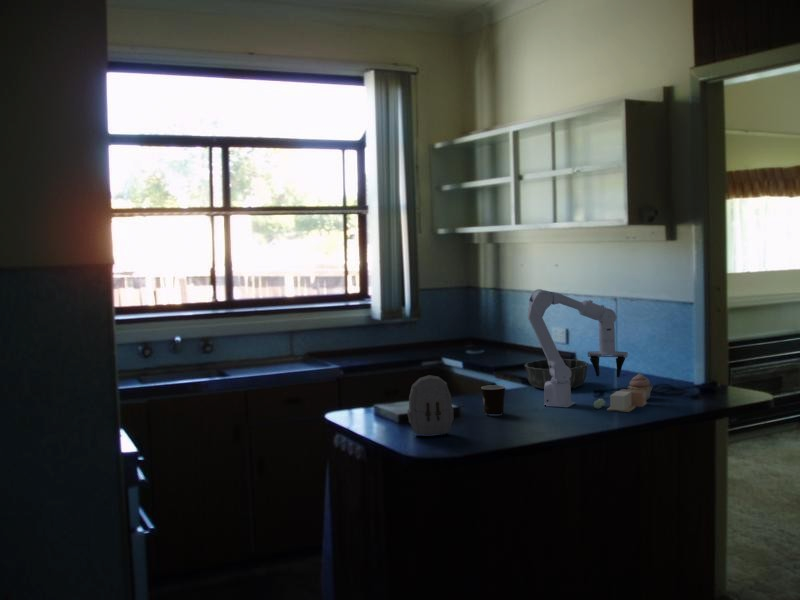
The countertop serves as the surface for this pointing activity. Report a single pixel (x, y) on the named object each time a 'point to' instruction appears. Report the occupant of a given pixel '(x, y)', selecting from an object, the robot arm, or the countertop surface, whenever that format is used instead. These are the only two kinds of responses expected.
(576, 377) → the bundt pan
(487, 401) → the coffee mug
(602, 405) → the marble
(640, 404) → the tan cardboard brick
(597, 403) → the marble
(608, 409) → the coaster
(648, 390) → the cupcake
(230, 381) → the countertop surface
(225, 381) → the countertop surface
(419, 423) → the grey rounded bag
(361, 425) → the countertop surface
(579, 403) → the countertop surface
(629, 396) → the block
